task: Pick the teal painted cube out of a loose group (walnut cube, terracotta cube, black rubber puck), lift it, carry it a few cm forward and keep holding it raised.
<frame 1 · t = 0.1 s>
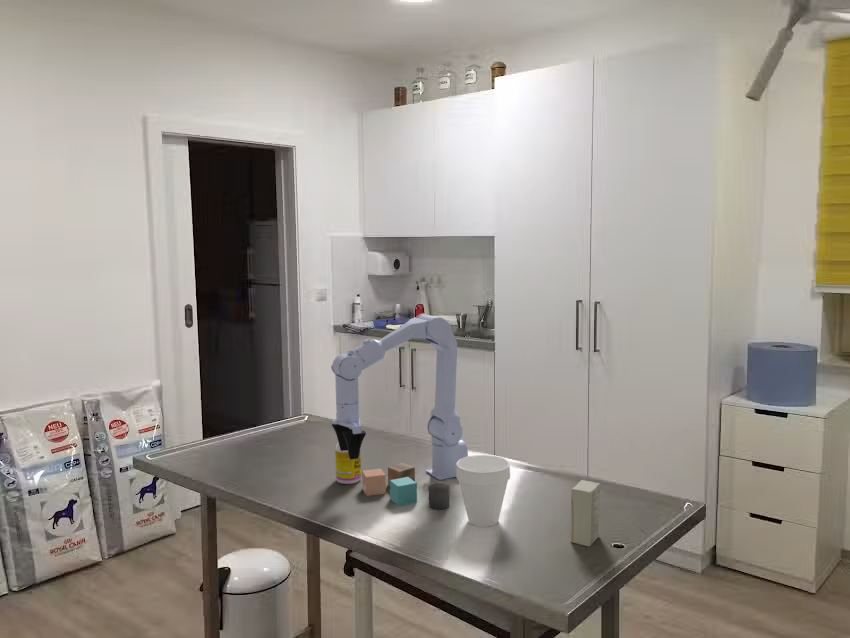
hand: (349, 454, 184), 10 cm above the table, fingers open, 7 cm apart
walnut cube: (401, 485, 190), on the table
cup: (483, 521, 166), on the table
terracotta cube: (374, 491, 186), on the table
supplement bottle: (348, 481, 194), on the table
teal cube: (403, 500, 179), on the table
black puck: (439, 506, 175), on the table
skincare box: (585, 540, 155), on the table
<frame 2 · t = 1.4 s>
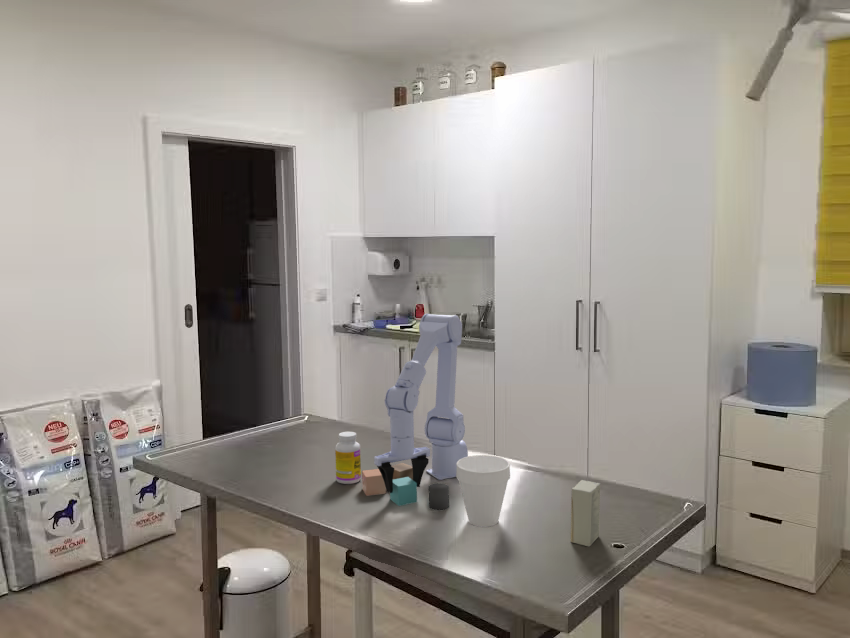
hand: (403, 488, 179), 3 cm above the table, fingers open, 7 cm apart
nothing on the table moved.
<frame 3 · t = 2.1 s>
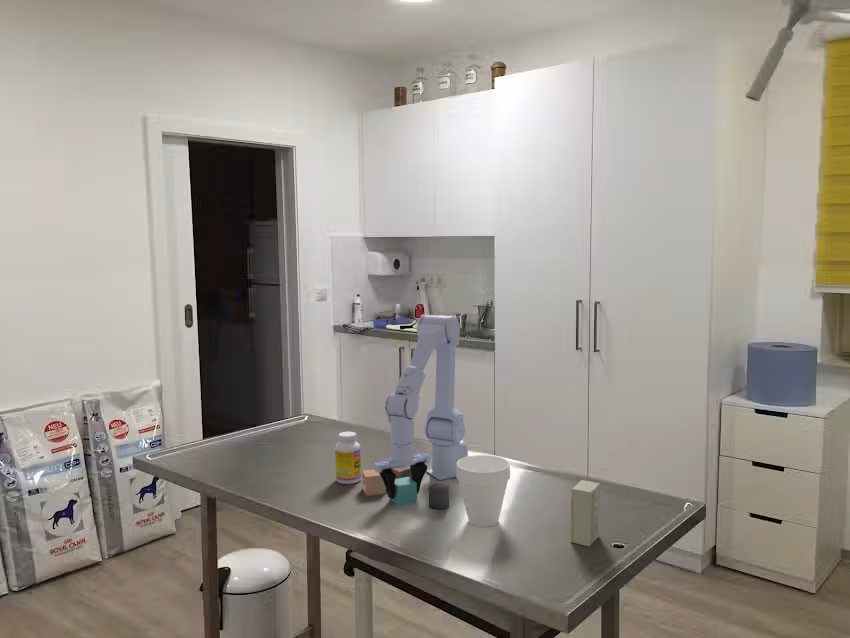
hand: (403, 495, 179), 1 cm above the table, fingers open, 6 cm apart
nothing on the table moved.
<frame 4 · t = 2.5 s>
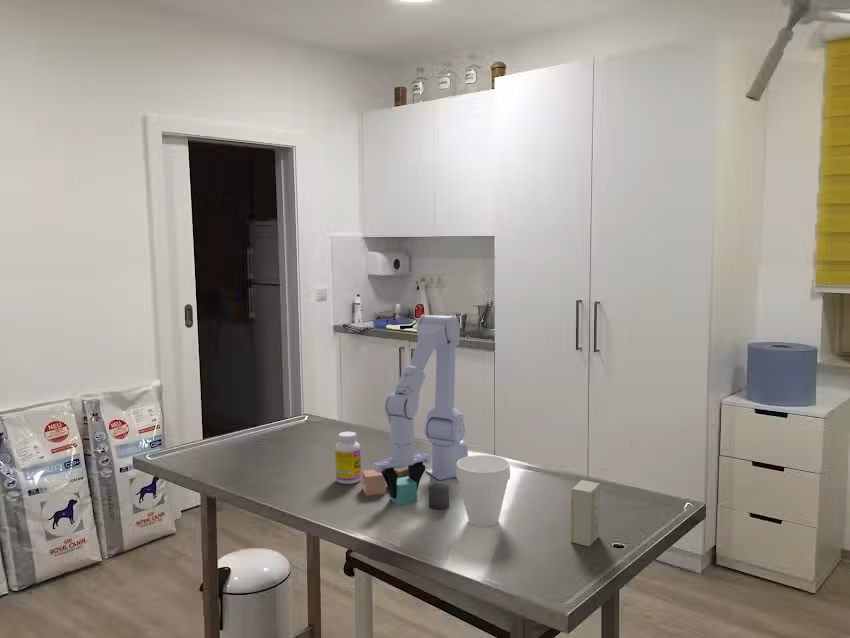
hand: (403, 495, 179), 1 cm above the table, fingers closed on teal cube, 5 cm apart
teal cube: (403, 500, 179), on the table, touching gripper
everything else where it was.
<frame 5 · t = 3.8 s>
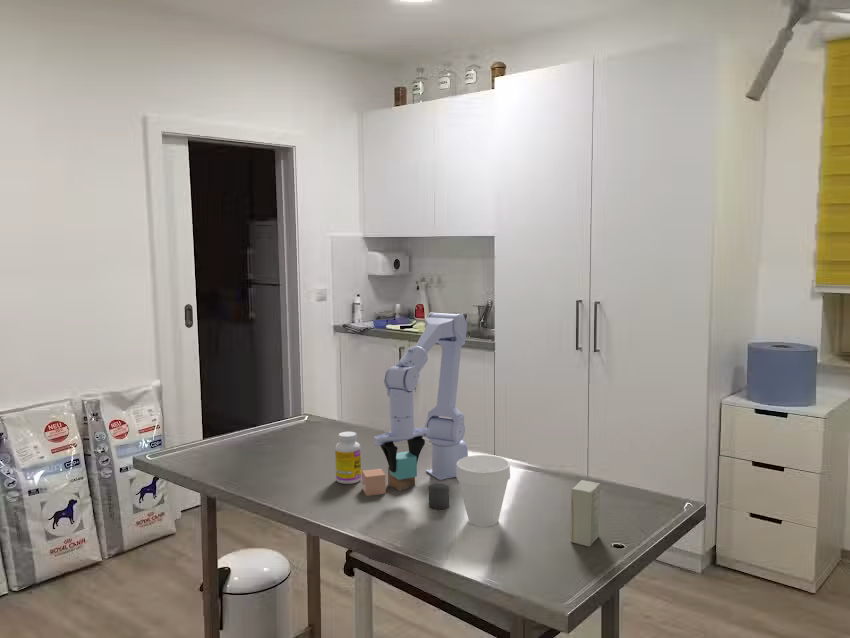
hand: (402, 469, 178), 8 cm above the table, fingers closed on teal cube, 5 cm apart
teal cube: (403, 475, 178), point 7 cm above the table, touching gripper
everything else where it was.
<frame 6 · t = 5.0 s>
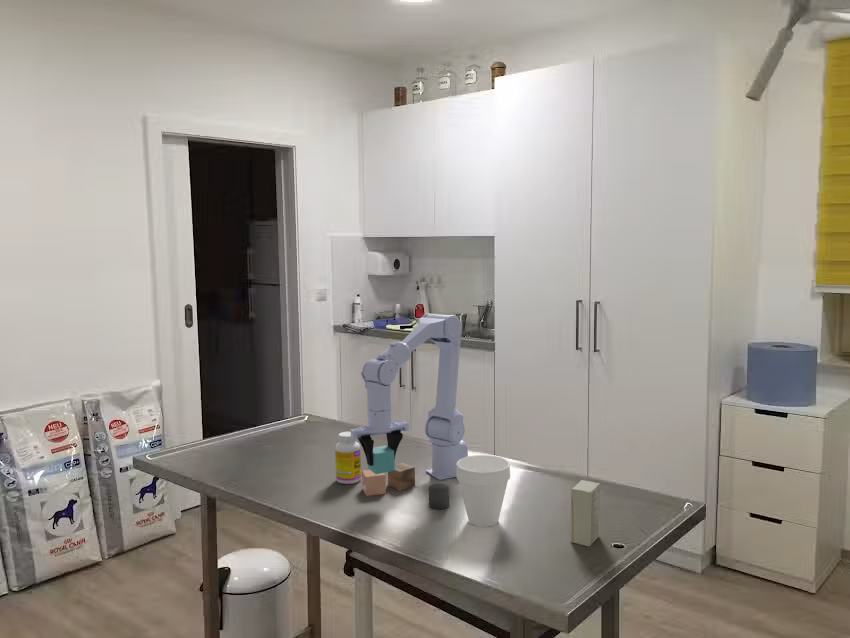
hand: (380, 462, 177), 10 cm above the table, fingers closed on teal cube, 5 cm apart
teal cube: (381, 469, 177), point 8 cm above the table, touching gripper
everything else where it was.
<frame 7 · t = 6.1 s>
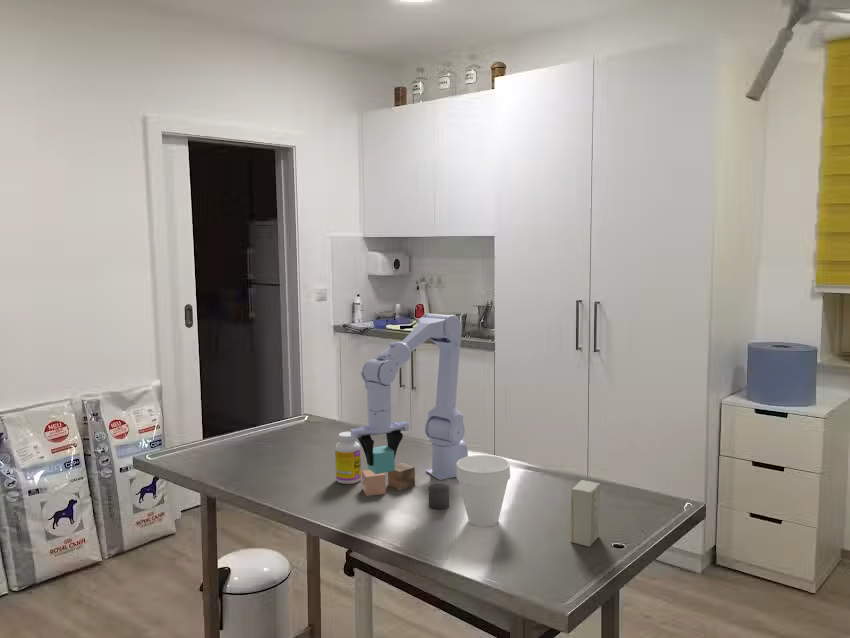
hand: (380, 462, 177), 10 cm above the table, fingers closed on teal cube, 5 cm apart
teal cube: (381, 469, 177), point 8 cm above the table, touching gripper
everything else where it was.
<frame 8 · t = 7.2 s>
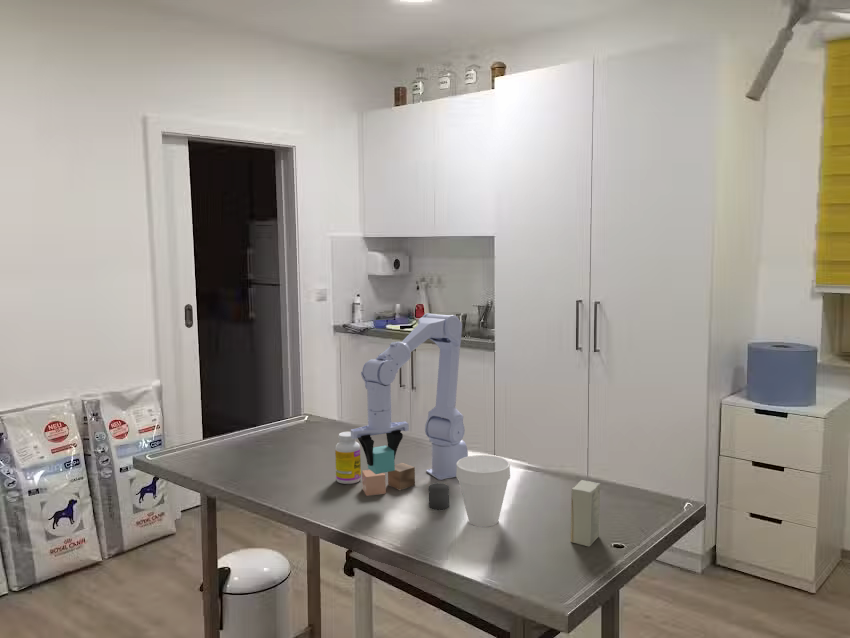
hand: (380, 462, 177), 10 cm above the table, fingers closed on teal cube, 5 cm apart
teal cube: (381, 469, 177), point 8 cm above the table, touching gripper
everything else where it was.
at the end: the gripper is holding teal cube; teal cube point 8.3 cm above the table; walnut cube moved 0.1 cm from its start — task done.
